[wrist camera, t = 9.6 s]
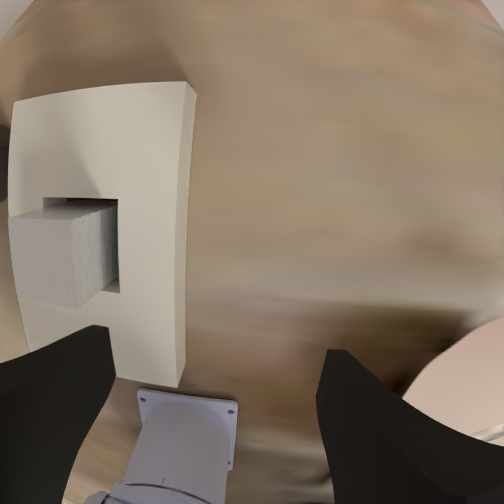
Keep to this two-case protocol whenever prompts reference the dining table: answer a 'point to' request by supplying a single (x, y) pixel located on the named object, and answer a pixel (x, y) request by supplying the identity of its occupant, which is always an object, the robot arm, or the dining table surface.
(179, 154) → the bore plate
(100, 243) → the square peg
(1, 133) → the round peg
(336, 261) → the dining table surface
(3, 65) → the dining table surface
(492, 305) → the dining table surface
